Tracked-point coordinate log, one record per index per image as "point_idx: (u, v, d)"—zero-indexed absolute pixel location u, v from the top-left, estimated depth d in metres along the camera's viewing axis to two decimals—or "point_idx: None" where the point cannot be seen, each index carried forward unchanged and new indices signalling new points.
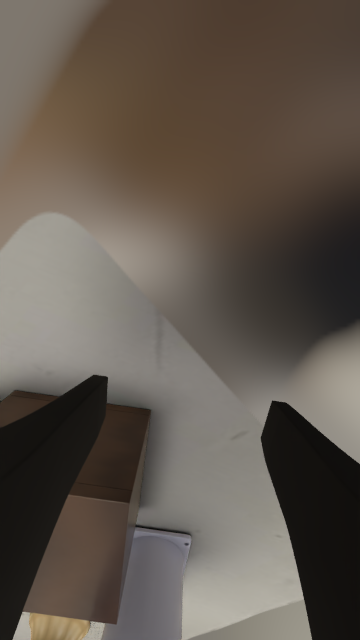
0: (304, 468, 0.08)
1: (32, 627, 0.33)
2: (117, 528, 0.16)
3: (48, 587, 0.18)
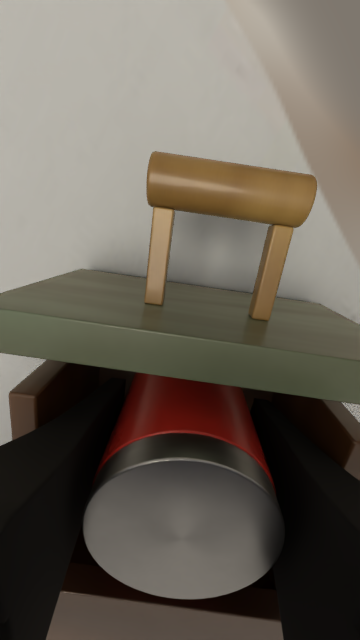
0: (280, 465, 0.08)
1: None
2: None
3: None
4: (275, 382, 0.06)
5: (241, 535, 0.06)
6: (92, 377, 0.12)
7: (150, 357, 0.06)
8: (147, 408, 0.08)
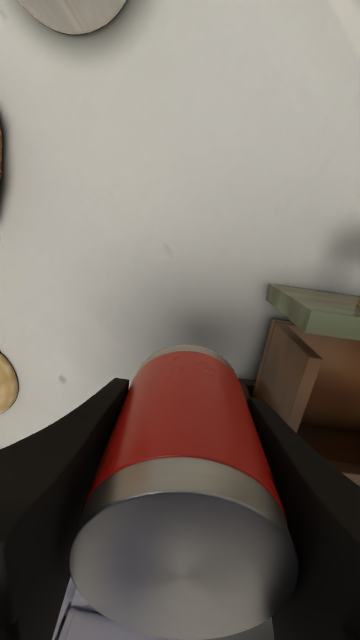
0: (272, 463, 0.08)
1: None
2: None
3: None
4: None
5: (249, 574, 0.06)
6: None
7: None
8: (143, 425, 0.07)
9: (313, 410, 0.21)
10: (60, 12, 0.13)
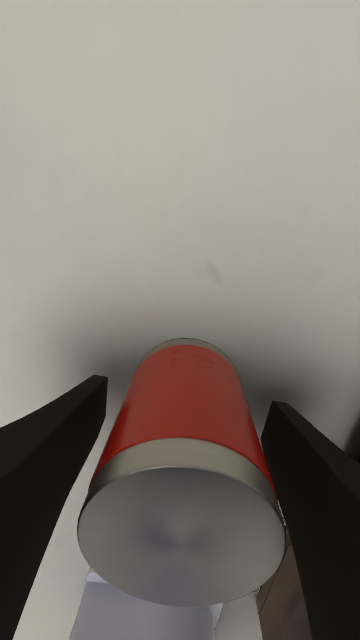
0: (304, 468, 0.08)
1: None
2: None
3: None
4: None
5: (241, 543, 0.06)
6: None
7: None
8: (145, 411, 0.07)
9: None
10: None
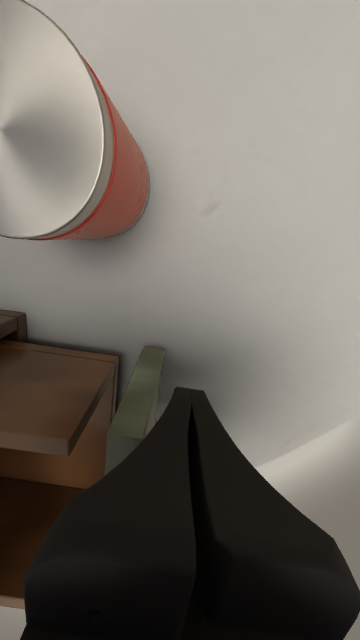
0: (192, 452, 0.08)
1: None
2: None
3: None
4: None
5: (21, 195, 0.07)
6: None
7: None
8: (115, 110, 0.08)
9: None
10: None
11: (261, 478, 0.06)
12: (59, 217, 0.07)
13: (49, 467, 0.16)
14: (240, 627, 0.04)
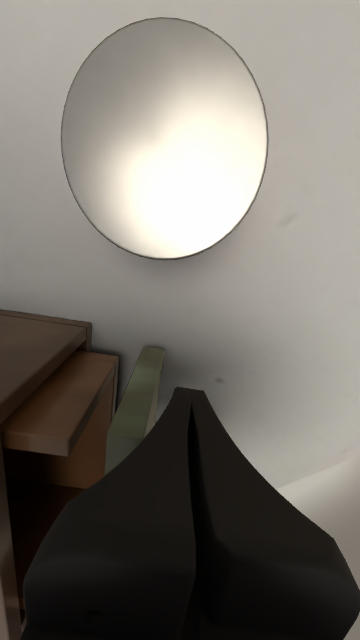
0: (192, 452, 0.08)
1: None
2: None
3: None
4: None
5: (171, 218, 0.07)
6: None
7: None
8: None
9: None
10: None
11: (261, 478, 0.06)
12: (207, 239, 0.07)
13: (49, 467, 0.16)
14: (240, 627, 0.04)
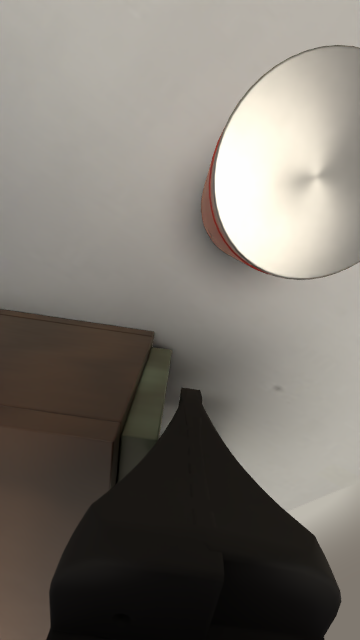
0: None
1: None
2: None
3: None
4: None
5: (314, 239, 0.07)
6: None
7: None
8: None
9: None
10: None
11: (247, 476, 0.06)
12: (347, 260, 0.07)
13: None
14: (220, 624, 0.04)
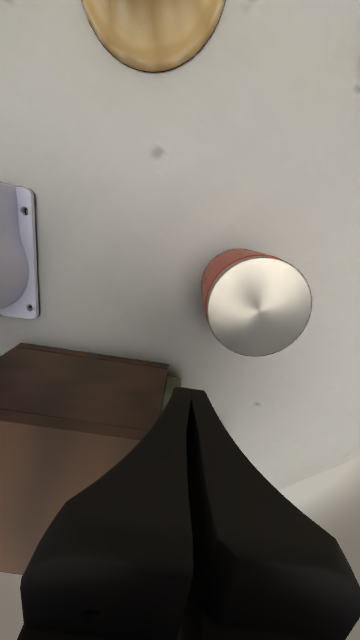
0: (193, 452, 0.08)
1: None
2: None
3: (18, 473, 0.15)
4: None
5: (259, 338, 0.13)
6: None
7: None
8: None
9: None
10: None
11: (263, 478, 0.06)
12: (277, 347, 0.13)
13: None
14: (242, 627, 0.04)
